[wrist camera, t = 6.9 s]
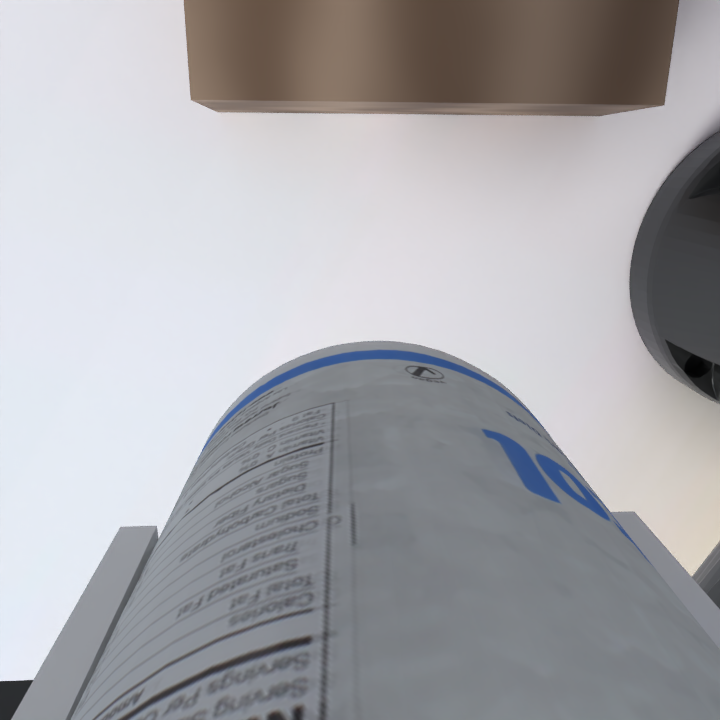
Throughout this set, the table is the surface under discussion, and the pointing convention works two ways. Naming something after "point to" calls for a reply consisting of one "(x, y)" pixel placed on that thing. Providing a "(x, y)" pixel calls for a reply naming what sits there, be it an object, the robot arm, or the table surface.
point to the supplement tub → (396, 566)
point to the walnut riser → (430, 56)
